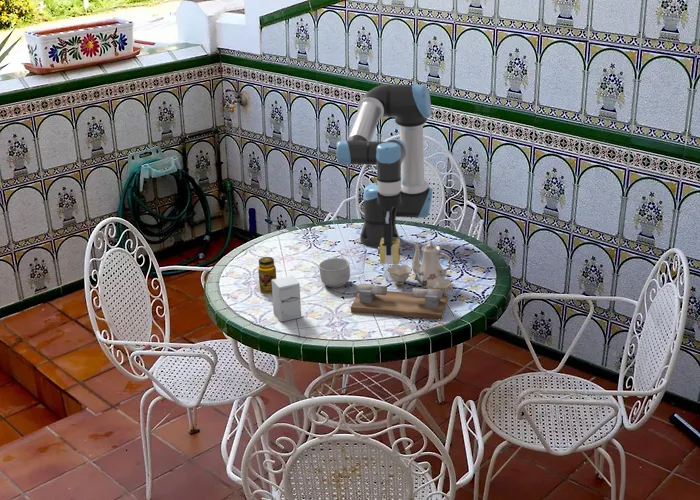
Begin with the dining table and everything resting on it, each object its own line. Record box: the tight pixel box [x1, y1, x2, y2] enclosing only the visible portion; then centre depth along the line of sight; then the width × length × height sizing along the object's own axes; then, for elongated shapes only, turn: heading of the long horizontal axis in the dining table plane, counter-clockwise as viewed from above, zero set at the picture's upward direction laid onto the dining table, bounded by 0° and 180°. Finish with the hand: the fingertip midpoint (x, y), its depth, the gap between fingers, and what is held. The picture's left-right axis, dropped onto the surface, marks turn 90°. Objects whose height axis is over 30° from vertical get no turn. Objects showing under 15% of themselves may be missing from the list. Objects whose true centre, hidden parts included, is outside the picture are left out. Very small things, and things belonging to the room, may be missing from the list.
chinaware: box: [386, 240, 455, 297], centre depth 292 cm, size 28×17×17 cm, turn 52°
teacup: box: [318, 255, 351, 288], centre depth 299 cm, size 14×11×8 cm
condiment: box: [254, 256, 277, 297], centre depth 294 cm, size 7×8×12 cm
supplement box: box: [271, 275, 302, 323], centre depth 275 cm, size 7×7×13 cm
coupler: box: [377, 237, 403, 265], centre depth 273 cm, size 5×8×7 cm, turn 81°
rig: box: [350, 283, 449, 321], centre depth 279 cm, size 14×30×7 cm, turn 76°
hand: (390, 259), depth 275 cm, fingers closed on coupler, 5 cm apart
